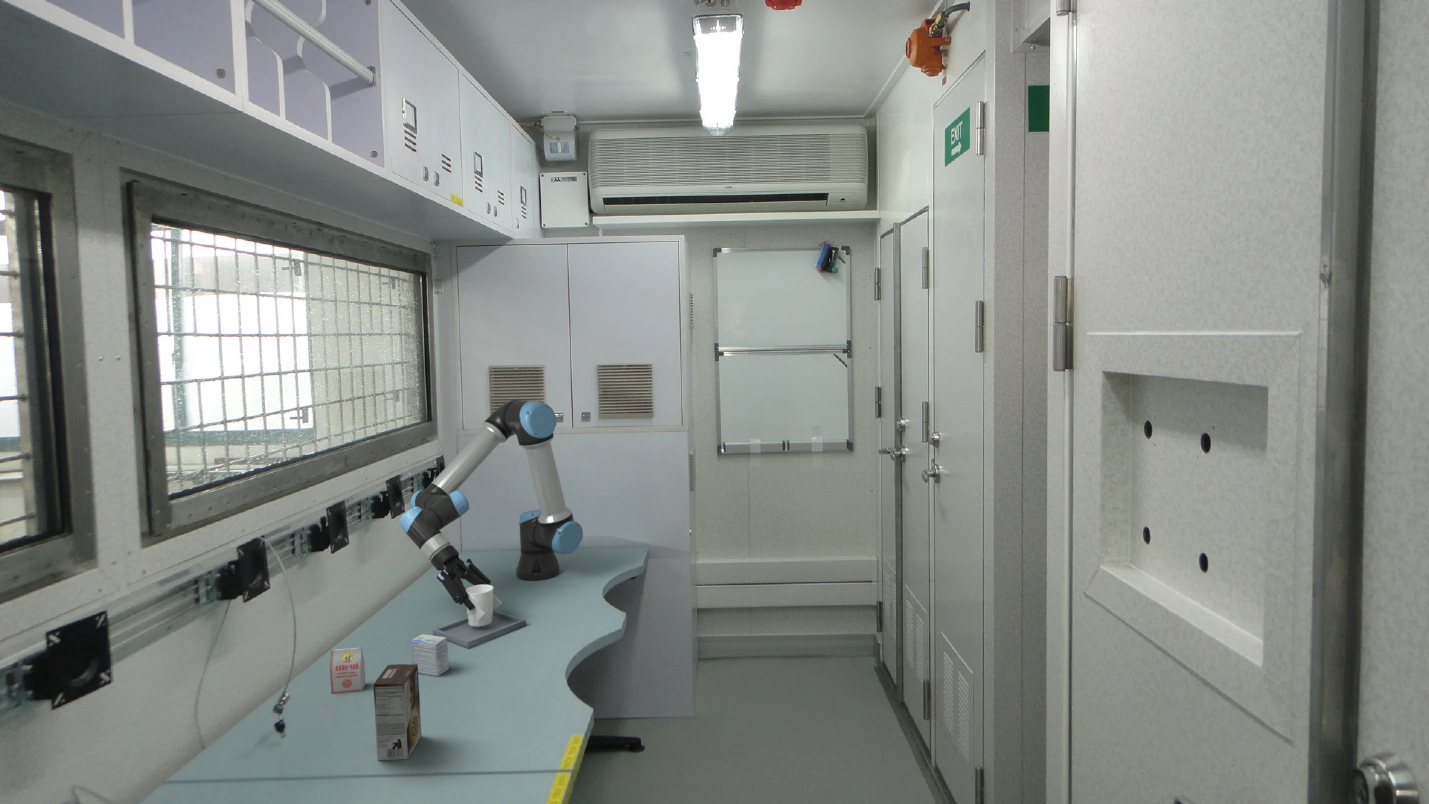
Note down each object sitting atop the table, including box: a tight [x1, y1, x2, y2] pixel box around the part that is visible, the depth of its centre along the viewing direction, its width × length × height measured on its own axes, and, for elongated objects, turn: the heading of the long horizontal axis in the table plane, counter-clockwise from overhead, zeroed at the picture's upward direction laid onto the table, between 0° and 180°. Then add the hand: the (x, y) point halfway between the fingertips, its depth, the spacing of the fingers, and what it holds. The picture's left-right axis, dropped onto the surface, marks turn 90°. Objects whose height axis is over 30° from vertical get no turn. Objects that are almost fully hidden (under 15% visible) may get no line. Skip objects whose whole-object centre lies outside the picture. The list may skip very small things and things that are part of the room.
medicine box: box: [410, 633, 450, 677], centre depth 191 cm, size 8×4×9 cm, turn 71°
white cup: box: [465, 584, 494, 626], centre depth 219 cm, size 8×8×10 cm
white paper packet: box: [329, 647, 367, 695], centre depth 182 cm, size 4×7×10 cm, turn 100°
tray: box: [432, 609, 527, 650], centre depth 218 cm, size 20×16×2 cm
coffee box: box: [372, 663, 422, 761], centre depth 155 cm, size 9×6×16 cm
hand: (490, 611), depth 218 cm, fingers closed on white cup, 7 cm apart
